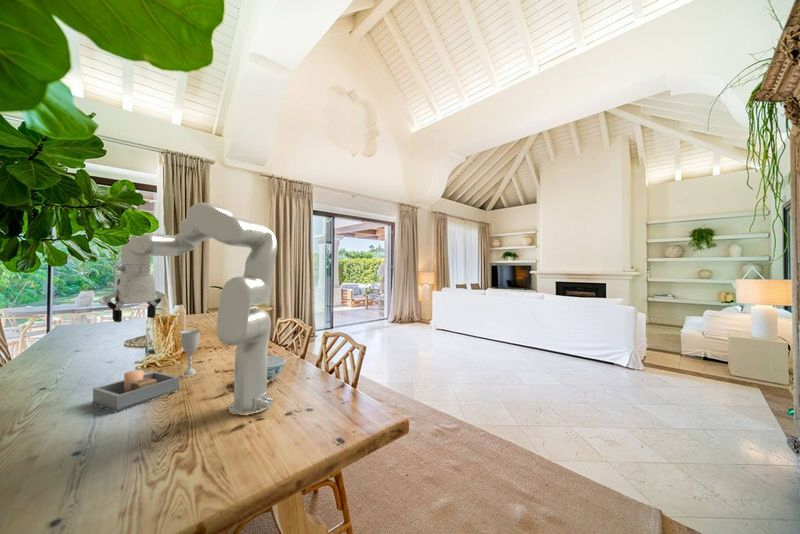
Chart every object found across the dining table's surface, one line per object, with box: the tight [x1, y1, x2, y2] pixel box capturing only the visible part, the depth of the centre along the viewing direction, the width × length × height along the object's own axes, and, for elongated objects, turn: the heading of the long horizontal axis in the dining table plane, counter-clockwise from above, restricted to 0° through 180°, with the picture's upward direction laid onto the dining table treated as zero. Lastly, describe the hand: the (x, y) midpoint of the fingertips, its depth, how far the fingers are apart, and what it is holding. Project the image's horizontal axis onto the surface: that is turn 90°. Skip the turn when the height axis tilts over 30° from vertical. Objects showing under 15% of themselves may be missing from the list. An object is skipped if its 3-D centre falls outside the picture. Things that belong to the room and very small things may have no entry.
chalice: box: [179, 329, 202, 376], centre depth 126 cm, size 7×7×18 cm
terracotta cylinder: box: [123, 369, 144, 393], centre depth 106 cm, size 5×5×7 cm
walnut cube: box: [130, 378, 157, 391], centre depth 104 cm, size 5×5×5 cm
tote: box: [92, 371, 180, 413], centre depth 105 cm, size 14×18×5 cm
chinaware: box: [267, 355, 286, 380], centre depth 122 cm, size 15×15×8 cm
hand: (134, 319), depth 106 cm, fingers open, 9 cm apart
